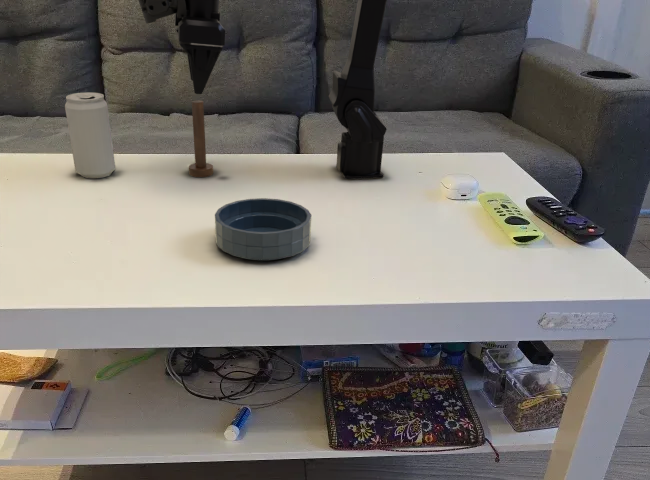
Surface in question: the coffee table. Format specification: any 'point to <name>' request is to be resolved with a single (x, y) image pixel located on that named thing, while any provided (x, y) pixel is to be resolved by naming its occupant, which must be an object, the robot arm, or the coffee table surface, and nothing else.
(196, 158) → the rod
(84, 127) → the beverage can
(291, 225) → the bowl
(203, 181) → the coffee table surface
